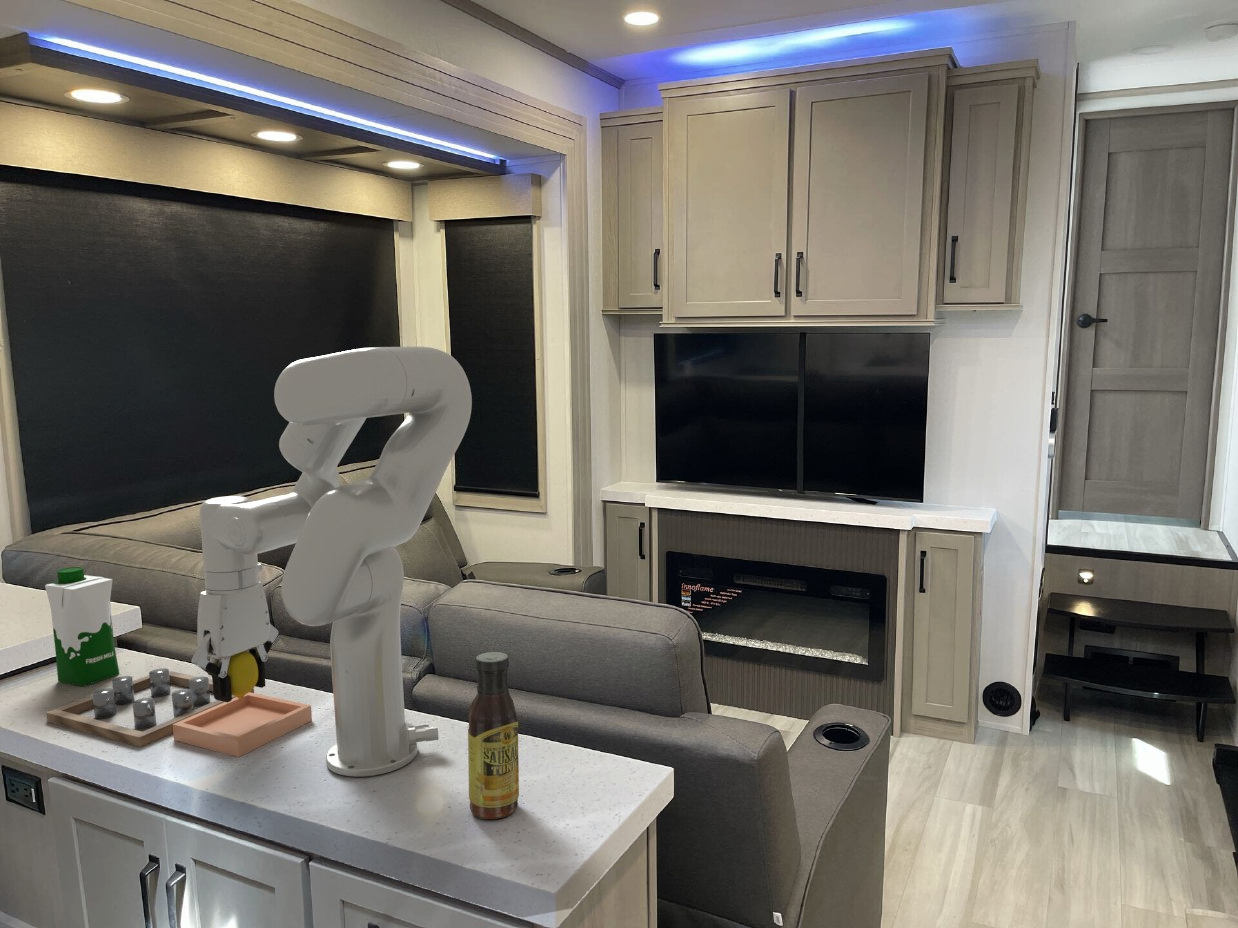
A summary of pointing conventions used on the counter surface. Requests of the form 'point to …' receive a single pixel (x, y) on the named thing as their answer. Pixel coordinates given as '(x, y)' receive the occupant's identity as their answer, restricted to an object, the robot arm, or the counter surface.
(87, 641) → the milk carton
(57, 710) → the frame
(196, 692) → the posts
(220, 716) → the dish
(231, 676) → the lemon
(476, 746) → the sauce bottle
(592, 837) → the counter surface
